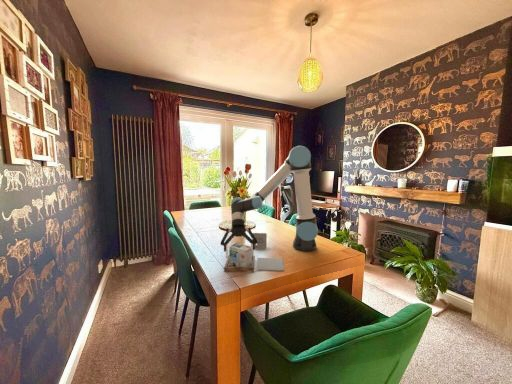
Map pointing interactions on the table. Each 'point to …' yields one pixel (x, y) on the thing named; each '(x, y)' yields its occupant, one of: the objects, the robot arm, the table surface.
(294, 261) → the table surface
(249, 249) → the light bulb box
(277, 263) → the rubber mat
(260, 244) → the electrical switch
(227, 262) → the walnut collar
